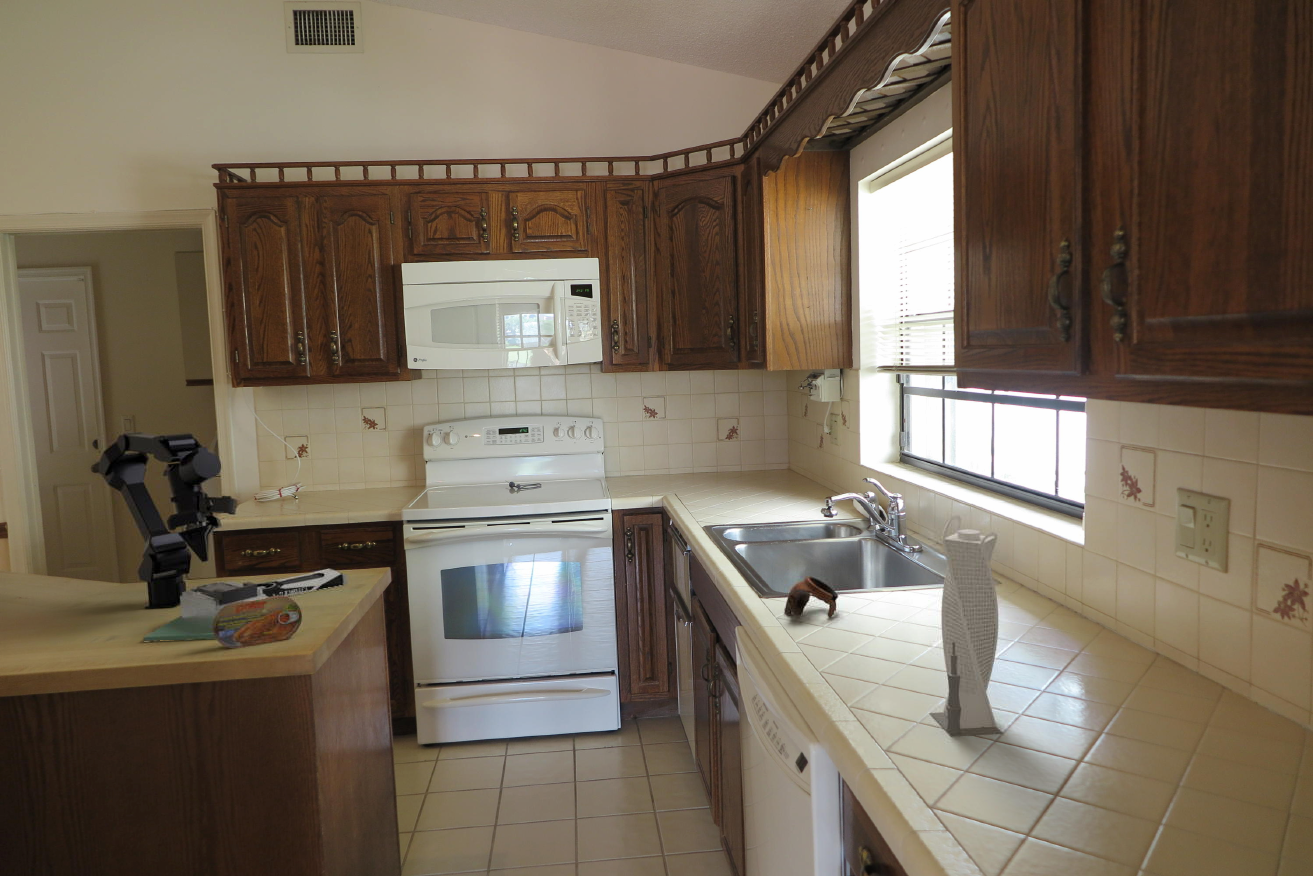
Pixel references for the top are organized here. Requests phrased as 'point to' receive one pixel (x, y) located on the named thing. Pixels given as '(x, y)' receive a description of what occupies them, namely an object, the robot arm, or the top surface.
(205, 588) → the grey rectangular slab
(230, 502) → the robot arm
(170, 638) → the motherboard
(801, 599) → the brown curved loop
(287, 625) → the tin
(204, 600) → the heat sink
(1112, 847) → the top surface
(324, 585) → the graphics card
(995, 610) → the skyscraper
